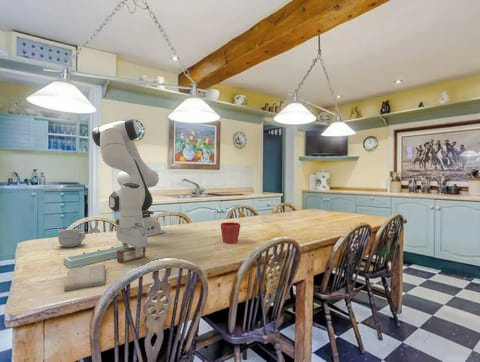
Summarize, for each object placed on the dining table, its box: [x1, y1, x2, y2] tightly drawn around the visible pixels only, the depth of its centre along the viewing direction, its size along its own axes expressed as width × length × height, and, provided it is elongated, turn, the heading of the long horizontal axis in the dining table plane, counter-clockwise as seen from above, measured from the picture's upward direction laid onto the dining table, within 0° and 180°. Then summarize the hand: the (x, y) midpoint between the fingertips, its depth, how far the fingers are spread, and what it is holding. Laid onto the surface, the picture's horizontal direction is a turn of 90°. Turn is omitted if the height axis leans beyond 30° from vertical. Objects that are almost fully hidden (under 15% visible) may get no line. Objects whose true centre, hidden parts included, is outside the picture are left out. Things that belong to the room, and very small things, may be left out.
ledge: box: [63, 245, 134, 269], centre depth 119 cm, size 27×8×3 cm, turn 139°
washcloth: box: [63, 263, 106, 291], centre depth 96 cm, size 12×18×3 cm, turn 27°
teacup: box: [57, 228, 86, 248], centre depth 138 cm, size 14×11×8 cm
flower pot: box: [220, 221, 241, 244], centre depth 148 cm, size 11×11×10 cm
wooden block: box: [116, 246, 146, 264], centre depth 117 cm, size 11×3×5 cm, turn 139°
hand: (131, 254), depth 117 cm, fingers open, 8 cm apart
